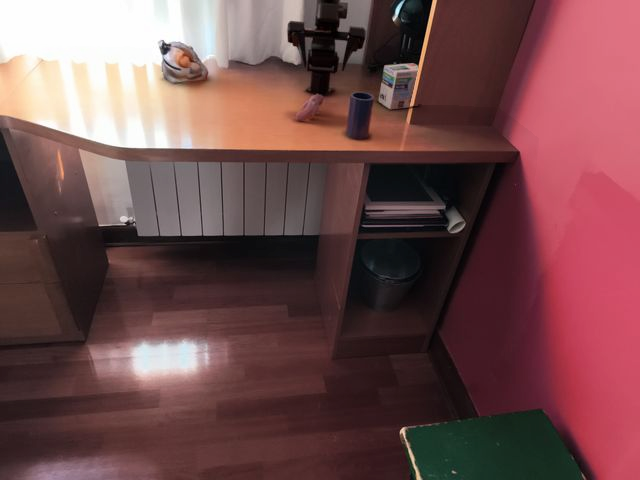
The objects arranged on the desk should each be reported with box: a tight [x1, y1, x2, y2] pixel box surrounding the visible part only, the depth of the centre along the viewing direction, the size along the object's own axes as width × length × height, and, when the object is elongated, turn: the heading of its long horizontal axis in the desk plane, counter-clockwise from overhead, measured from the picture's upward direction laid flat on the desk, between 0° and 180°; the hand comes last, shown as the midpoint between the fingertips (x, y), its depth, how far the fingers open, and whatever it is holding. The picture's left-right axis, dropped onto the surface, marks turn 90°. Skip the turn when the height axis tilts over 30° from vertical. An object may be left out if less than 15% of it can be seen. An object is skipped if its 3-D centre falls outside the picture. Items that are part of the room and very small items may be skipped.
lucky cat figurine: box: [157, 39, 209, 84], centre depth 133 cm, size 15×12×14 cm
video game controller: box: [295, 93, 325, 122], centre depth 121 cm, size 10×5×7 cm, turn 168°
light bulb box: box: [377, 62, 419, 110], centre depth 132 cm, size 11×7×11 cm, turn 117°
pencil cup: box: [345, 91, 375, 140], centre depth 112 cm, size 6×6×10 cm
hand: (323, 68), depth 110 cm, fingers open, 9 cm apart
